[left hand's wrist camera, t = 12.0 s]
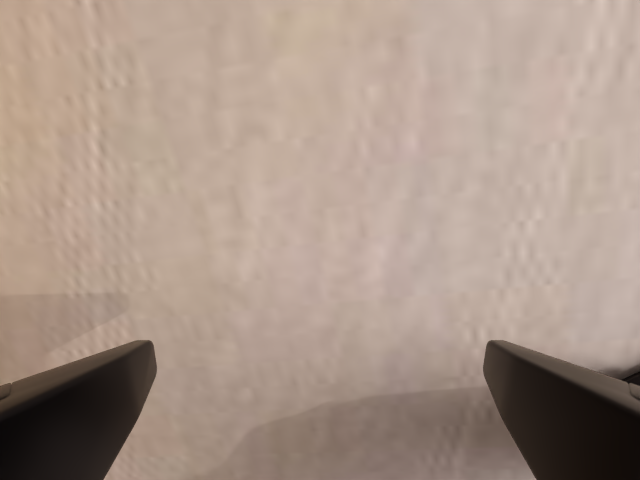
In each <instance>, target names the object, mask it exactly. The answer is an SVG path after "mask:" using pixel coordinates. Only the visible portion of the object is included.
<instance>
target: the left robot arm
mask: <svg viewBox="0 0 640 480" xmlns="http://www.w3.org/2000/svg"><path fill="white" fill-rule="evenodd" d="M156 372H157V365H156V358H155V352H154V346H153V343H152V342H151V341H149V340H137V341H133V342H130V343H127V344H124V345H122V346H119V347H116V348H113V349H110V350H107V351H104V352H101V353H98V354H95V355H92V356H89V357H86V358H83V359H80V360H77V361H74V362H71V363H68V364H66V365H63V366H60V367H57V368H54V369H51V370H48V371H45V372H42V373H39V374H36V375H33V376H30V377H27V378H24V379H21V380H18V381H15V382H13V383H12V385H11V383H8V384H5V385H2V386H0V480H104V478H105V476H106V474H107V472H108V471H109V469H110V467H111V465H112V464H113V462H114V460H115V458H116V457H117V455H118V453H119V451H120V450H121V448H122V446H123V444H124V443H125V441H126V439H127V437H128V436H129V434H130V432H131V430H132V429H133V427H134V425H135V423H136V421H137V419H138V417H139V415H140V413H141V411H142V408H143V406H144V403H145V401H146V399H147V396H148V394H149V391H150V389H151V386H152V384H153V382H154V379H155V377H156ZM483 372H484V377H485V379H486V382H487V384H488V386H489V389H490V391H491V394H492V396H493V399H494V401H495V403H496V406H497V408H498V411H499V413H500V415H501V417H502V419H503V421H504V423H505V425H506V427H507V429H508V430H509V432H510V434H511V436H512V437H513V439H514V441H515V443H516V444H517V446H518V448H519V450H520V451H521V453H522V455H523V457H524V458H525V460H526V462H527V464H528V465H529V467H530V469H531V471H532V472H533V474H534V476H535V478H536V480H640V372H638V373H636V374H634V375H631V376H629V377H627V378H625V379H623V380H619V379H616V378H613V377H610V376H607V375H604V374H601V373H598V372H595V371H592V370H589V369H586V368H583V367H580V366H577V365H574V364H572V363H569V362H566V361H563V360H560V359H557V358H554V357H551V356H548V355H545V354H542V353H539V352H536V351H533V350H530V349H527V348H524V347H521V346H518V345H516V344H513V343H510V342H507V341H503V340H491V341H489V342H488V343H487V346H486V352H485V358H484V365H483Z"/></svg>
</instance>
